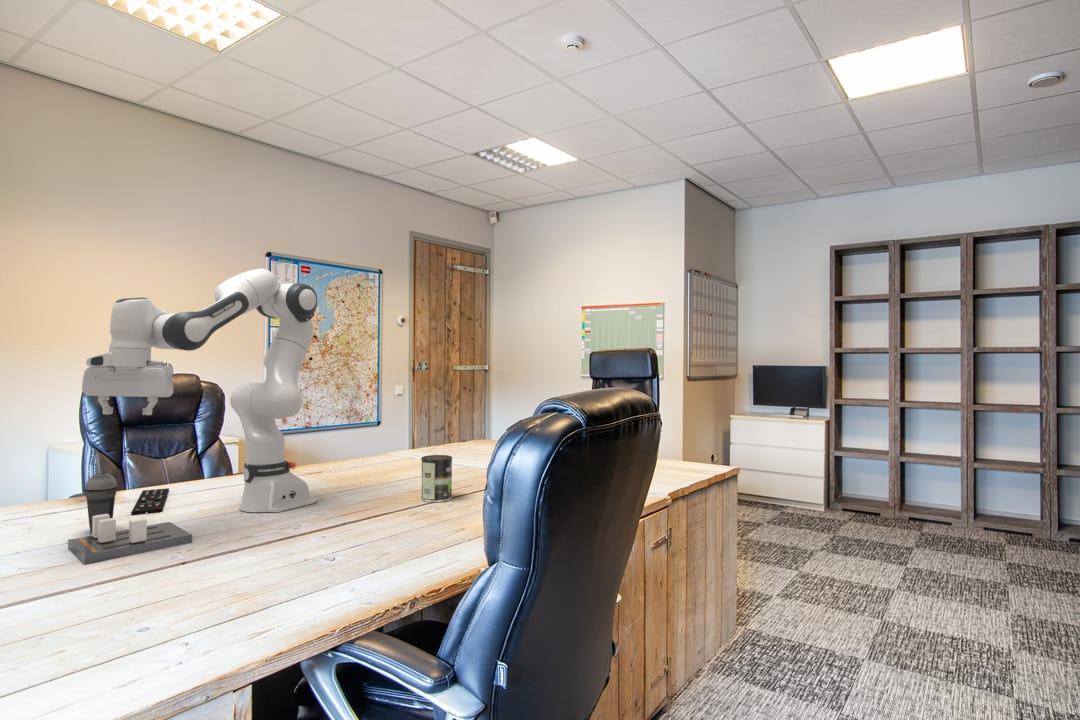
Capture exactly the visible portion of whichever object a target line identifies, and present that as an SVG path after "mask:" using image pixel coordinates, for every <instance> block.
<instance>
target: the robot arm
mask: <svg viewBox="0 0 1080 720" xmlns="http://www.w3.org/2000/svg"><path fill="white" fill-rule="evenodd" d="M214 300H215V302H213V303H212V304H210V305H208V306H207V307H204V308H203V309H200V310H199V311H198V310H197V311H184V312H182V311H181V312H171V313H170V312H169V311H166V310H164V309H162V308H161V307H159V306H157V305H156V304H154V302H152V301H151V299H150V298H147V297H143V296H142V297H125V298H120V299H117V300H116V301H115V302H114V303H113V306H112V309H111V316H110V324H109V325H110V326H109V332H110V335H111V336H110V337H111V340H110V344H109V346H108V352H105V353H102V354H97V355H94V356H90V357H87V358H86V361H85V364H86V366H87V368H85V370H84V372H83V375H82V384H81V385H82V386H81V390H82V393H83V395H84V396H87V397H97V401H98V403H99V405H100V407H101V408H102V415H112V414H113V413H114V412H113V411H114V407H113V406H110V405H109V402H108V401H109V400H110V397H127V398H128V397H130V398H131V397H133V398H134V397H135V398H137V397H138V398H147V400H146V401H147V402H148V404H147V406H146V407H143V408H142V413H141V415H142V416H152V415H153V409H154V407H155V406H156V404H157V403H158V402H159V401H158V398H171V397H172V396H173V394H174V381H173V376H174V367H173V365H172V364H171V363H169V362H168V361H167V360H166V361H165V360H163V361H162V360H161V361H159V360H158V361H157V360H151V358H152V348H155V349H160V350H180V351H188V352H189V351H195V350H198V349H200V348H201V347H202V346H204V345H205V344H206V343H207V341H208V340H209V339H210V338H211V336H212V335H213V334H214V333H215V332H216V331H217V330H219V329H221V328H223V327H224V326H225V325H227V324H229V323H230V322H232V321H233V320H235V319H236V318H238V317H240V316H242V315H244V314H247V313H249V312H252V311H253V310H256V311H257V312H258V313H259V314H260V315H261V316H264V317H266V318H271V319H279V326H278V330H276V333H275V335H274V337H273V339H272V340H271V343H270V345H269V348H268V350H267V352H266V354H265V356H264V359H263V365H264V366H265V368H266V377H265V380H264V382H248V383H244V384H240V385H238V386H236V387H235V388H233V389H234V390H232V392H231V394H230V398H229V401H230V402H229V403H230V406H231V408H232V410H233V411H234V412H235V413H236V414H237V416H238V418H239V421H240V423H241V426H242V430H243V434H244V438H245V463H244V465H243V481H244V487H243V494H242V499H241V503H240V505H239V508H238V509H239V511H241V512H248V513H279V512H280V513H281V512H284V511H288V510H292V509H296V508H297V509H298V508H299V507H300V508H301V507H304V506H309V505H312V504H313V505H314V504H317V501H318V499H317V497H315V496H314V495H310V488H309V485H308V483H307V482H306V481H304V480H303V479H302V478H300V477H299V476H297V475H296V474H294V473H293V472H291V469H295V468H296V467H297V464H296V462H294V461H287V460H285V448H286V447H285V435H284V433H283V432H281V430H280V428H278V424H277V422H276V420H282V419H286V418H291V417H294V416H296V415H297V414H298V413H299V412H300V410H301V408H302V406H303V396H302V394H301V392H300V390H299V387H298V379H299V378H298V377H299V373H300V370H301V368H302V366H303V363H304V360H305V359H306V358H305V357H306V355H307V353H308V351H309V348H310V345H311V342H312V338H313V335H314V334H313V333H314V324H313V322H312V320H311V319H313V317H314V316H315V313H316V311H317V310H316V309H317V306H318V296H317V292H316V290H315V289H314V288H313V287H312V286H311V285H309V284H306V283H300V282H297V283H289V282H288V283H281V284H280V283H279V281H278V279H277V277H276V276H275V274H274V273H273V272H272V271H270V270H268V269H266V268H261V267H260V268H256V269H251V270H246V271H243V272H240V273H238V274H236V275H233V276H232V277H229V278H228V279H225V280H224V281H223V282H221V283H219V285H218V286H216V287H215V290H214Z"/></svg>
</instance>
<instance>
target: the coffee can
mask: <svg viewBox="0 0 1080 720" xmlns="http://www.w3.org/2000/svg"><path fill="white" fill-rule="evenodd" d="M420 459H421V495H420V496H421V497H420V500H421V501H422V502H426V503H444V502H448V501H450V500H452V499H453V497H452V495H453V493H452V491H453V490H452V489H453V485H452V482H453V473H452V472H453V470H452V469H453V468H452V467H453V456H452V455H448V454H447V455H446V454H432V455H424V456H422V457H421V458H420Z"/></svg>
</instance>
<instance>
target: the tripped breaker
mask: <svg viewBox="0 0 1080 720" xmlns="http://www.w3.org/2000/svg"><path fill="white" fill-rule="evenodd" d="M147 521H148V520H147V519H146V518H145V517H143V518H136V519H129V520H128V526H129V527H128V529H129V541H130V542H131V543H135V542H140V541H145V540H147V526H148V524H147Z"/></svg>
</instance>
